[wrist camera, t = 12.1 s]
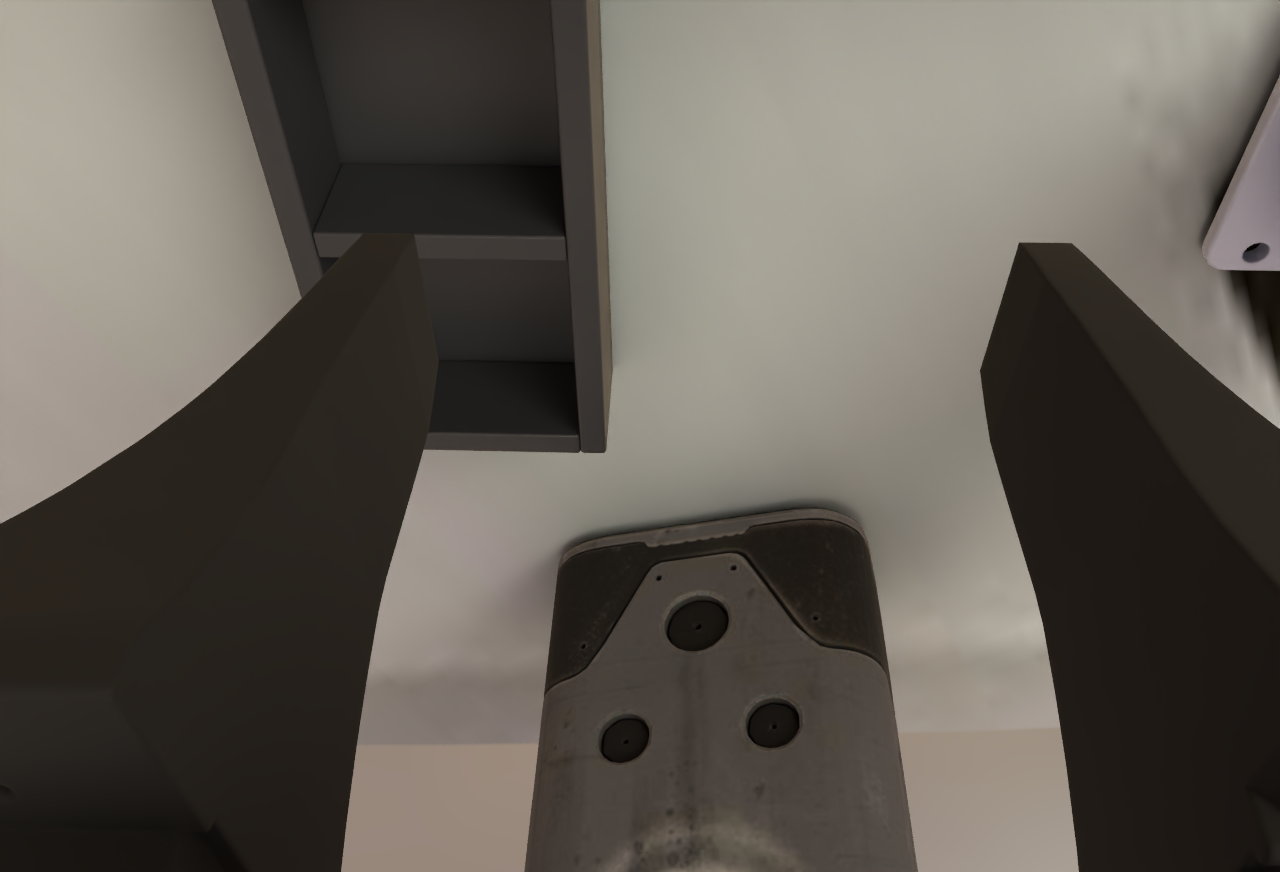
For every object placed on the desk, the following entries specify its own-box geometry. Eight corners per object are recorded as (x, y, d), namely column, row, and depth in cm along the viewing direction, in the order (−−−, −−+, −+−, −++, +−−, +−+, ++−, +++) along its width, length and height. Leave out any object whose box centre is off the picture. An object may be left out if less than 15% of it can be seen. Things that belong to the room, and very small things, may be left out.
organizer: (595, -126, 18) (583, -59, 16) (612, 369, 27) (606, 454, 25) (245, -128, 18) (191, -62, 16) (372, 365, 27) (346, 448, 25)
